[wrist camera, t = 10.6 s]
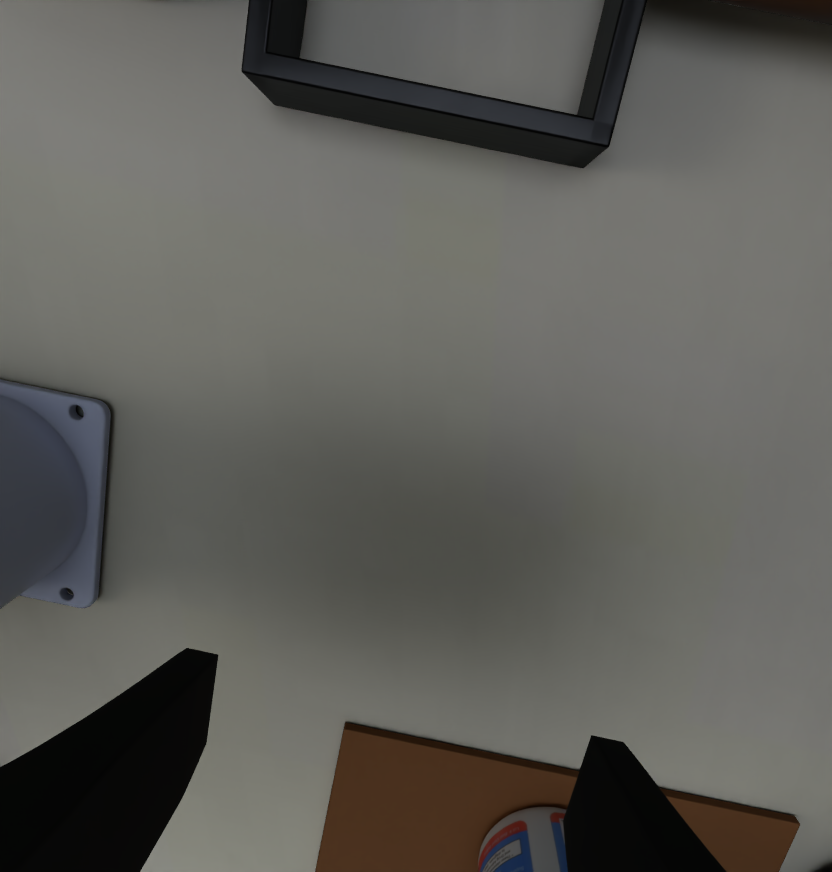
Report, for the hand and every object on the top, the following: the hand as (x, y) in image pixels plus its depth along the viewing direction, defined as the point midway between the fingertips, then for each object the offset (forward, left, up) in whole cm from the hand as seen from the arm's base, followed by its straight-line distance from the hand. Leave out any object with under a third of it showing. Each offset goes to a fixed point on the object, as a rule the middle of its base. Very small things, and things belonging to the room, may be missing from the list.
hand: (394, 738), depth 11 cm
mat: (+8, -13, -10) cm, 18 cm away
